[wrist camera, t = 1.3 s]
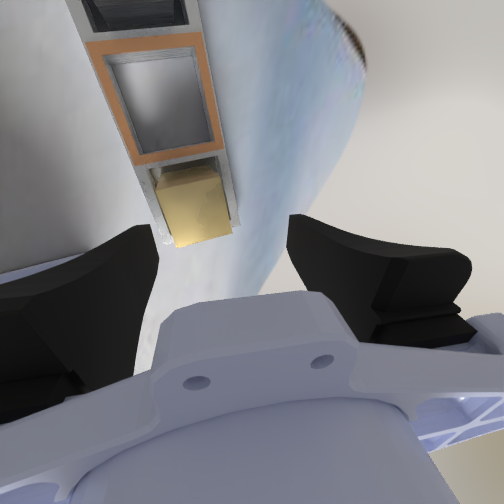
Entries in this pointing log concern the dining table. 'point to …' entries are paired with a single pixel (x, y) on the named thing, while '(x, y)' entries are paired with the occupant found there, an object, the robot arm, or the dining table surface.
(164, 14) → the gunmetal nut block
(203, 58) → the zinc tray
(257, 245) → the dining table surface
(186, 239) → the golden block
